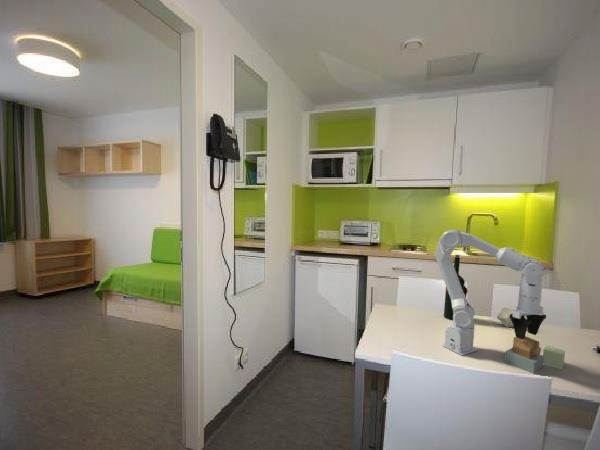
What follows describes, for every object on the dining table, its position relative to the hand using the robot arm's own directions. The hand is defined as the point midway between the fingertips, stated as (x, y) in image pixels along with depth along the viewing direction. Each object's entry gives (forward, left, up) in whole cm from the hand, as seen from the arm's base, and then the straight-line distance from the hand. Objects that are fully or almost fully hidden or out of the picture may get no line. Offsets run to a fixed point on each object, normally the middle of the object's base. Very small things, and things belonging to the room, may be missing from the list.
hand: (526, 335), depth 97 cm
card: (+15, +6, -10) cm, 19 cm away
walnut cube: (0, 0, -6) cm, 6 cm away
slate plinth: (0, 0, -10) cm, 10 cm away
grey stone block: (+31, +21, -10) cm, 39 cm away
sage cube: (+10, -4, -10) cm, 15 cm away
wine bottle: (+16, +36, -10) cm, 41 cm away
